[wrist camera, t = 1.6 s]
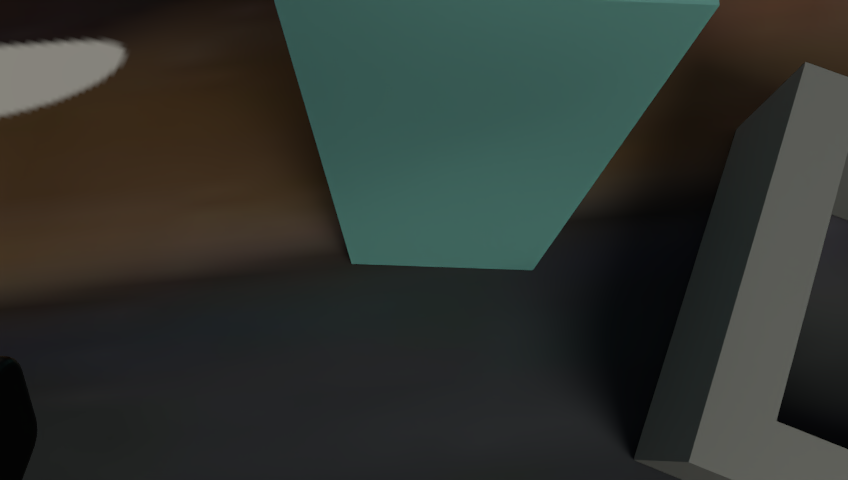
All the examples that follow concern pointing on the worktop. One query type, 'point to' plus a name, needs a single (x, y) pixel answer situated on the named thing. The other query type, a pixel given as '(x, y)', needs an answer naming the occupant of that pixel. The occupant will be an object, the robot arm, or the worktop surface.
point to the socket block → (755, 296)
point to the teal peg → (475, 114)
